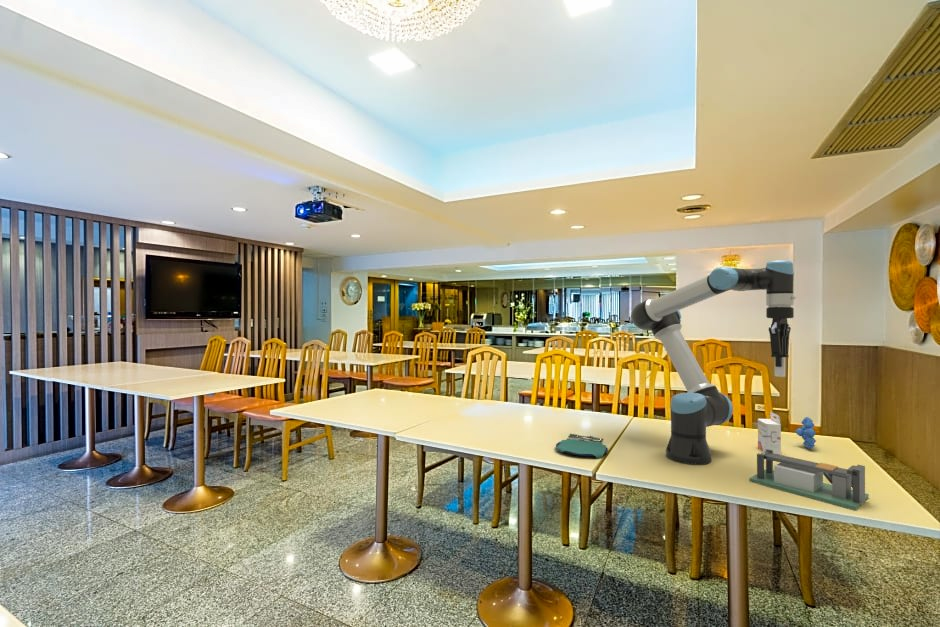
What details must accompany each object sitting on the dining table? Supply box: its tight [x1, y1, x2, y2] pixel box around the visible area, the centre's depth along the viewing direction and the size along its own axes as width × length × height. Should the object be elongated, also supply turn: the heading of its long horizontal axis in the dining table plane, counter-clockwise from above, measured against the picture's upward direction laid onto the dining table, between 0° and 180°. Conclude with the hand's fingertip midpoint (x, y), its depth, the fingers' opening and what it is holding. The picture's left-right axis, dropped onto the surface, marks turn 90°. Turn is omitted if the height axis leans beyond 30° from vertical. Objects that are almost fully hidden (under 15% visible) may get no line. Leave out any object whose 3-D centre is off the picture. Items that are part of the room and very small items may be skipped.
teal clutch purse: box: [555, 433, 609, 459], centre depth 176 cm, size 20×30×2 cm, turn 157°
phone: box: [823, 472, 853, 489], centre depth 142 cm, size 8×1×15 cm
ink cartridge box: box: [757, 411, 782, 455], centre depth 170 cm, size 9×5×15 cm, turn 168°
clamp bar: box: [760, 451, 850, 477], centre depth 134 cm, size 22×5×2 cm, turn 37°
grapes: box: [795, 416, 817, 450], centre depth 175 cm, size 12×7×12 cm, turn 153°
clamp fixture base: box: [748, 449, 870, 511], centre depth 133 cm, size 26×14×10 cm, turn 37°
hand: (779, 376), depth 147 cm, fingers closed
